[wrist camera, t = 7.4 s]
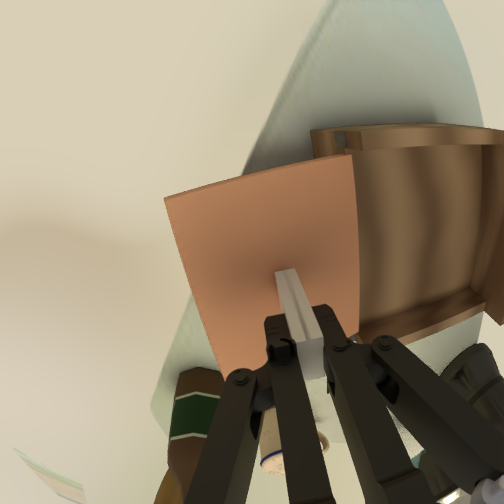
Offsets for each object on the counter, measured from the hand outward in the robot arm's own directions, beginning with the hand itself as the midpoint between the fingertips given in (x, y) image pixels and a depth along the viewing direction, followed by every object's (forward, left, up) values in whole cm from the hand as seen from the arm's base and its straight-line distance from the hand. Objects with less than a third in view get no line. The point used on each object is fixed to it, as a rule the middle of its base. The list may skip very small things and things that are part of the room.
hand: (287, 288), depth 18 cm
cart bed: (-14, 0, -12) cm, 18 cm away
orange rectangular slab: (-6, 0, -4) cm, 7 cm away
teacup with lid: (+1, +33, -12) cm, 35 cm away
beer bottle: (+12, +20, -12) cm, 26 cm away
